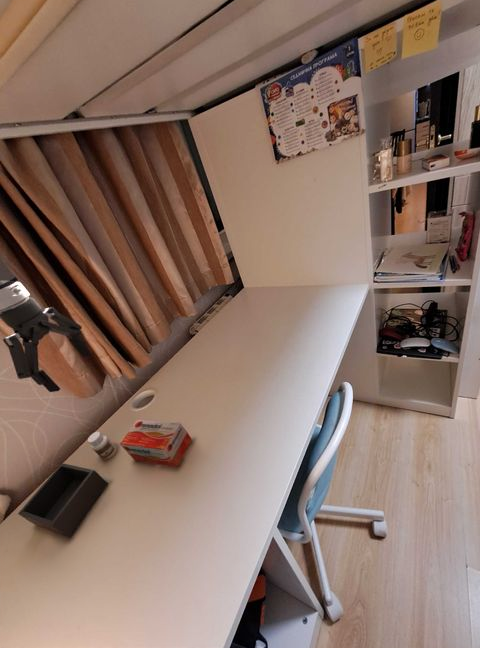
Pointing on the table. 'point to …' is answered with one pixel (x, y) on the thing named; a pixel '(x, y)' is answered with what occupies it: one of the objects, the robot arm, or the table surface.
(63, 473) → the basket
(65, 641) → the table surface
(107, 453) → the pill bottle
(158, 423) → the medicine box
